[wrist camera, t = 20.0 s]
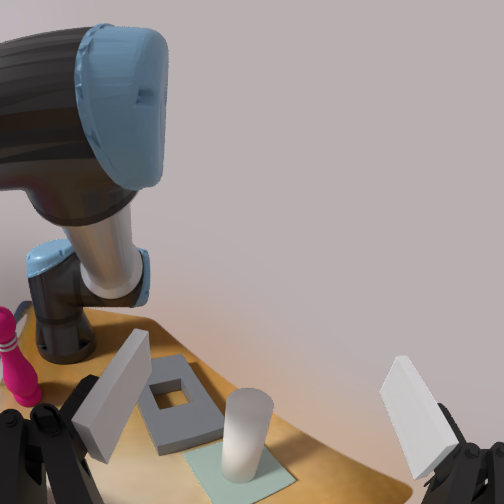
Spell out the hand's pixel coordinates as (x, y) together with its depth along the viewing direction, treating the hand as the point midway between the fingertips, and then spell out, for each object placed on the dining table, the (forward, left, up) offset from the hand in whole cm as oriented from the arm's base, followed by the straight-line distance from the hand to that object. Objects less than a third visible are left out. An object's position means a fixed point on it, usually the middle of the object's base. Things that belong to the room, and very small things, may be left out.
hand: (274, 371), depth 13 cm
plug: (-8, +6, -29) cm, 31 cm away
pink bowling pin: (-32, -25, -30) cm, 51 cm away
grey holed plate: (-25, +2, -30) cm, 39 cm away
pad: (-8, +6, -30) cm, 32 cm away
